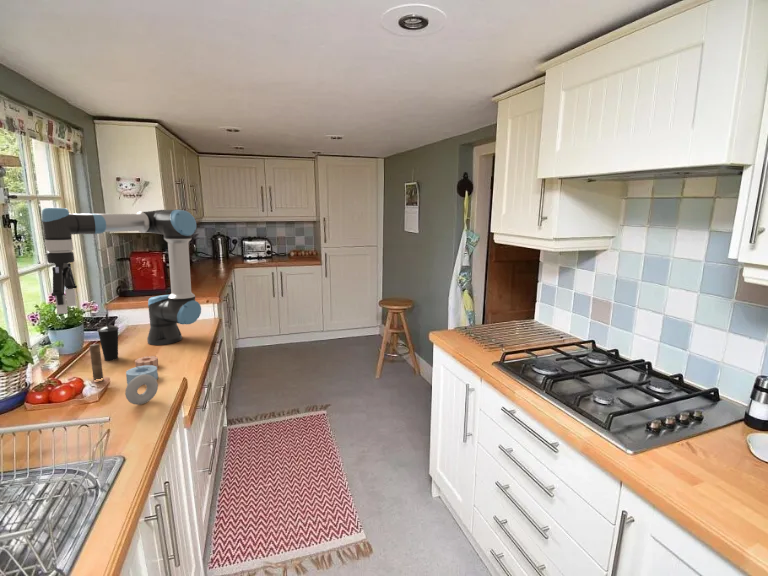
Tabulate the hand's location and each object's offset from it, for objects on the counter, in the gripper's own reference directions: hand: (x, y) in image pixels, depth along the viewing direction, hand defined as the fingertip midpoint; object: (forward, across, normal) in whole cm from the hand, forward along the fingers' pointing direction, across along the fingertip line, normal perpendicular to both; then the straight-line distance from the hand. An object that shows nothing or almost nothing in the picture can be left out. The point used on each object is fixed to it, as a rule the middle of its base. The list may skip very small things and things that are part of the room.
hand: (67, 309), depth 146 cm
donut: (+28, +33, +24) cm, 49 cm away
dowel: (+27, +4, +8) cm, 29 cm away
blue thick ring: (+27, +10, +22) cm, 37 cm away
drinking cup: (+28, -22, +8) cm, 36 cm away
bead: (+27, -4, +23) cm, 36 cm away
